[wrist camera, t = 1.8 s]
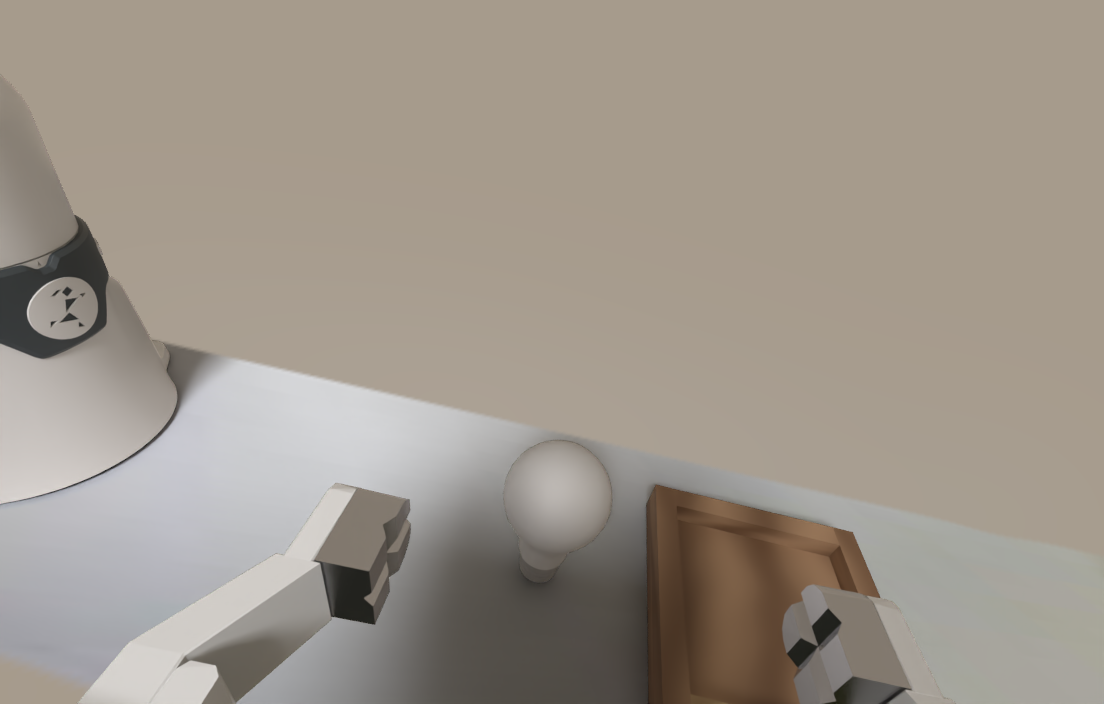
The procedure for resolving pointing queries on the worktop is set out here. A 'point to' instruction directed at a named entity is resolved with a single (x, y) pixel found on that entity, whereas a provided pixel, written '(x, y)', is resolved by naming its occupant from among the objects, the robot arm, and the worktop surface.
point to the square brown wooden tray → (732, 596)
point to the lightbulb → (555, 504)
